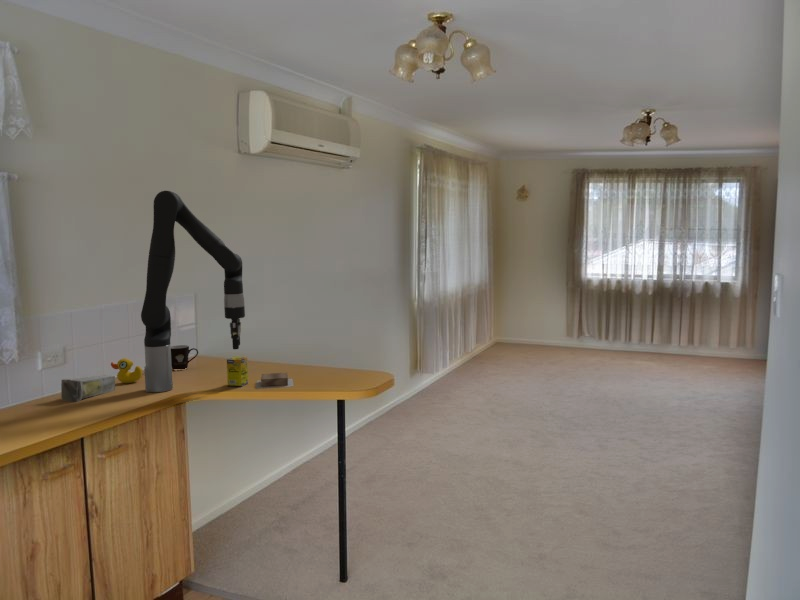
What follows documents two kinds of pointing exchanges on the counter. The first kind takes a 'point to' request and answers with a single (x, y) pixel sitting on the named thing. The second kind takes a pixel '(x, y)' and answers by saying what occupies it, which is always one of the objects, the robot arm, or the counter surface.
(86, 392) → the block
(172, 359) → the coffee mug
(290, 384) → the pad
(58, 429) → the counter surface
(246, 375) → the supplement box
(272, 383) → the base block
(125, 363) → the duckling
